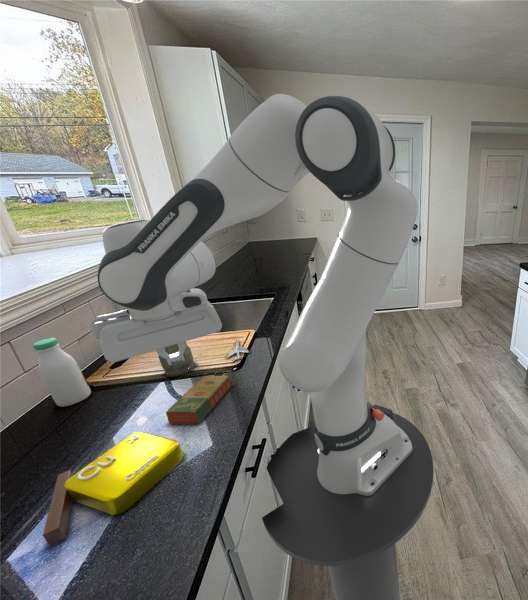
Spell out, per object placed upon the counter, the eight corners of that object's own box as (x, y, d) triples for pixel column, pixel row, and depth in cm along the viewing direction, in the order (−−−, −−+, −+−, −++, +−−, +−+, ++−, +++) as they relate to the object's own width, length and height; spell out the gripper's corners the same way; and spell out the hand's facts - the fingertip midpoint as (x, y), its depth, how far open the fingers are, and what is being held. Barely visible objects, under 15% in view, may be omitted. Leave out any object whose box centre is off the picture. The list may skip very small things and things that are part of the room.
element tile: (119, 518, 60) (109, 501, 58) (67, 499, 64) (57, 483, 62) (188, 455, 73) (182, 439, 71) (142, 443, 77) (135, 428, 76)
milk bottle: (92, 397, 95) (63, 340, 88) (56, 411, 90) (22, 351, 83) (91, 387, 101) (63, 332, 93) (57, 399, 96) (25, 342, 88)
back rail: (76, 479, 69) (70, 469, 67) (65, 538, 57) (58, 527, 56) (64, 484, 67) (57, 474, 66) (50, 546, 56) (42, 535, 55)
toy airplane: (247, 338, 127) (246, 333, 126) (250, 363, 109) (249, 357, 108) (226, 344, 124) (225, 338, 123) (226, 370, 106) (224, 364, 105)
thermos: (167, 364, 111) (132, 270, 98) (203, 359, 113) (173, 266, 100) (154, 379, 103) (113, 278, 90) (193, 373, 105) (159, 274, 92)
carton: (232, 386, 97) (229, 374, 96) (199, 424, 82) (194, 411, 81) (206, 386, 98) (203, 375, 96) (169, 424, 83) (164, 411, 81)
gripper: (83, 324, 55) (114, 389, 60) (214, 294, 66) (230, 350, 71) (87, 313, 59) (115, 375, 64) (208, 287, 71) (224, 341, 76)
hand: (176, 362), depth 68 cm, fingers closed
